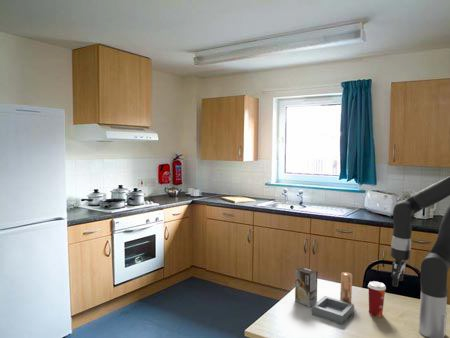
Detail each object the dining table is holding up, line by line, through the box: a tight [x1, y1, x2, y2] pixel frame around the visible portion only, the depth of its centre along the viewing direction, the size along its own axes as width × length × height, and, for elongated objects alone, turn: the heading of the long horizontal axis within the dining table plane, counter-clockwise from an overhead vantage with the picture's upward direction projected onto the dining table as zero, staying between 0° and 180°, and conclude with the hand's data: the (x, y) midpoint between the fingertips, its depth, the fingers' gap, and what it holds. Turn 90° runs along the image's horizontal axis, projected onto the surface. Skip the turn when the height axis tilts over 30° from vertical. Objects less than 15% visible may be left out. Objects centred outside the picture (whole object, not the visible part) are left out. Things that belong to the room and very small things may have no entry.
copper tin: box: [339, 271, 353, 304], centre depth 175 cm, size 5×5×14 cm
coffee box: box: [294, 266, 318, 308], centre depth 174 cm, size 9×6×16 cm
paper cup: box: [367, 280, 387, 317], centre depth 163 cm, size 8×8×14 cm
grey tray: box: [311, 295, 355, 325], centre depth 163 cm, size 14×14×4 cm
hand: (397, 283), depth 154 cm, fingers open, 8 cm apart
